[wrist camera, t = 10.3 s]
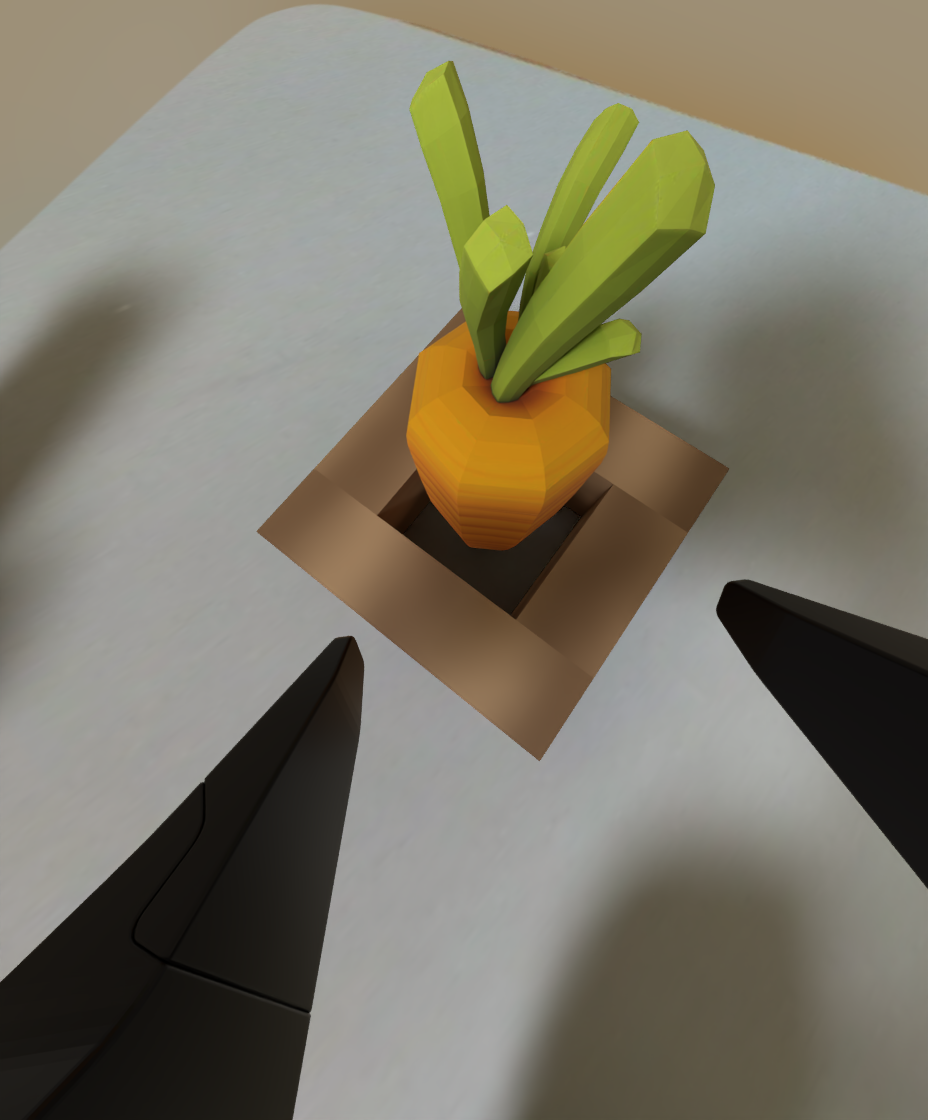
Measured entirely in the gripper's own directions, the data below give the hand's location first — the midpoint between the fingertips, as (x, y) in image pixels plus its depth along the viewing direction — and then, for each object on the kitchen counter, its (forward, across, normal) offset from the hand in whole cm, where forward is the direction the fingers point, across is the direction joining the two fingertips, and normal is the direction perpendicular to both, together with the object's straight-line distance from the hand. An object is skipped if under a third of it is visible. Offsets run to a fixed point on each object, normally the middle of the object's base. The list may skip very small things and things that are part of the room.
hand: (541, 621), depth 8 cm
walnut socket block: (+10, 0, +2) cm, 10 cm away
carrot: (+10, 0, +3) cm, 10 cm away
